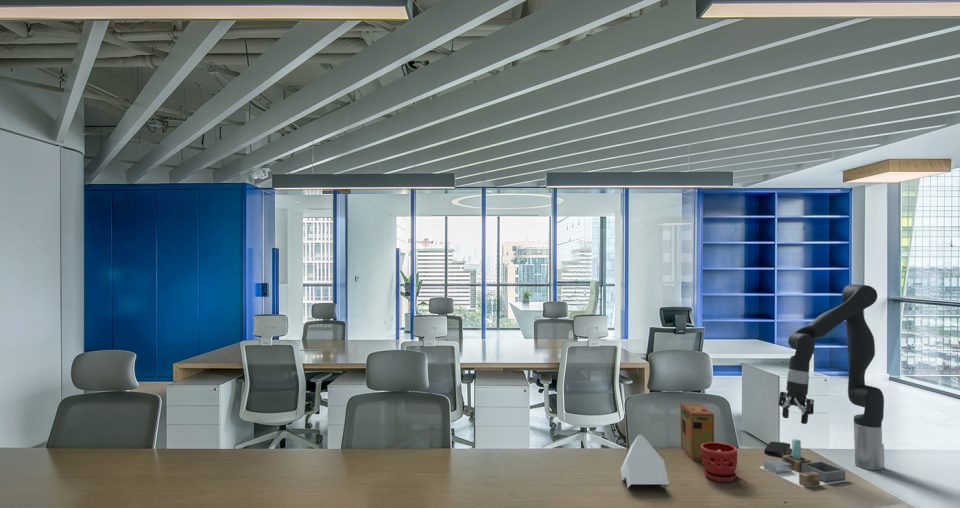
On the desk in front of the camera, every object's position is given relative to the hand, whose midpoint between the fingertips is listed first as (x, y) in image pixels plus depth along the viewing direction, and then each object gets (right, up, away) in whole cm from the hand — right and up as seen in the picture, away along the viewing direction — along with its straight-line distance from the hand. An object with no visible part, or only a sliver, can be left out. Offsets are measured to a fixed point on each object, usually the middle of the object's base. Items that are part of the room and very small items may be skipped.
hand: (794, 420), depth 209 cm
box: (-34, -20, +15) cm, 42 cm away
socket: (-2, -18, -4) cm, 18 cm away
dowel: (-2, -18, -4) cm, 18 cm away
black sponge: (+2, -20, +15) cm, 25 cm away
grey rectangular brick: (-11, -18, -7) cm, 22 cm away
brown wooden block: (-7, -17, -21) cm, 28 cm away
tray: (+3, -17, -13) cm, 22 cm away
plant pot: (-36, -19, -11) cm, 42 cm away
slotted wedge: (-68, -19, -16) cm, 72 cm away
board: (-4, -19, -10) cm, 22 cm away
